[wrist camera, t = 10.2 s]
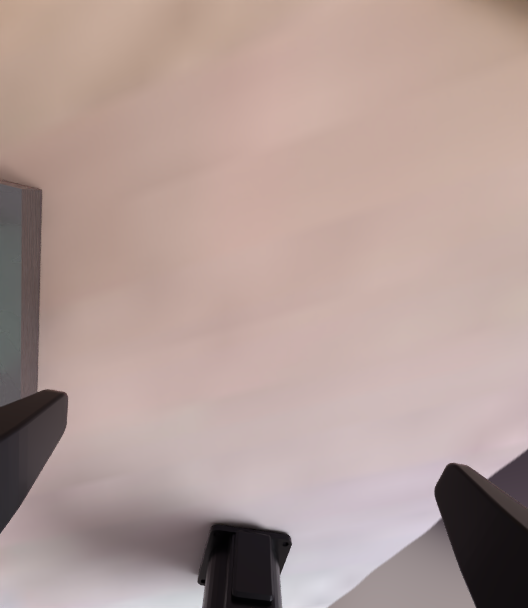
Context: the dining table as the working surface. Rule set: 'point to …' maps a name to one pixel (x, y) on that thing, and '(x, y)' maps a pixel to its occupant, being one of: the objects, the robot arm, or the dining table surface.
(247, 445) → the dining table surface
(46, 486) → the dining table surface
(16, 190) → the base plate
